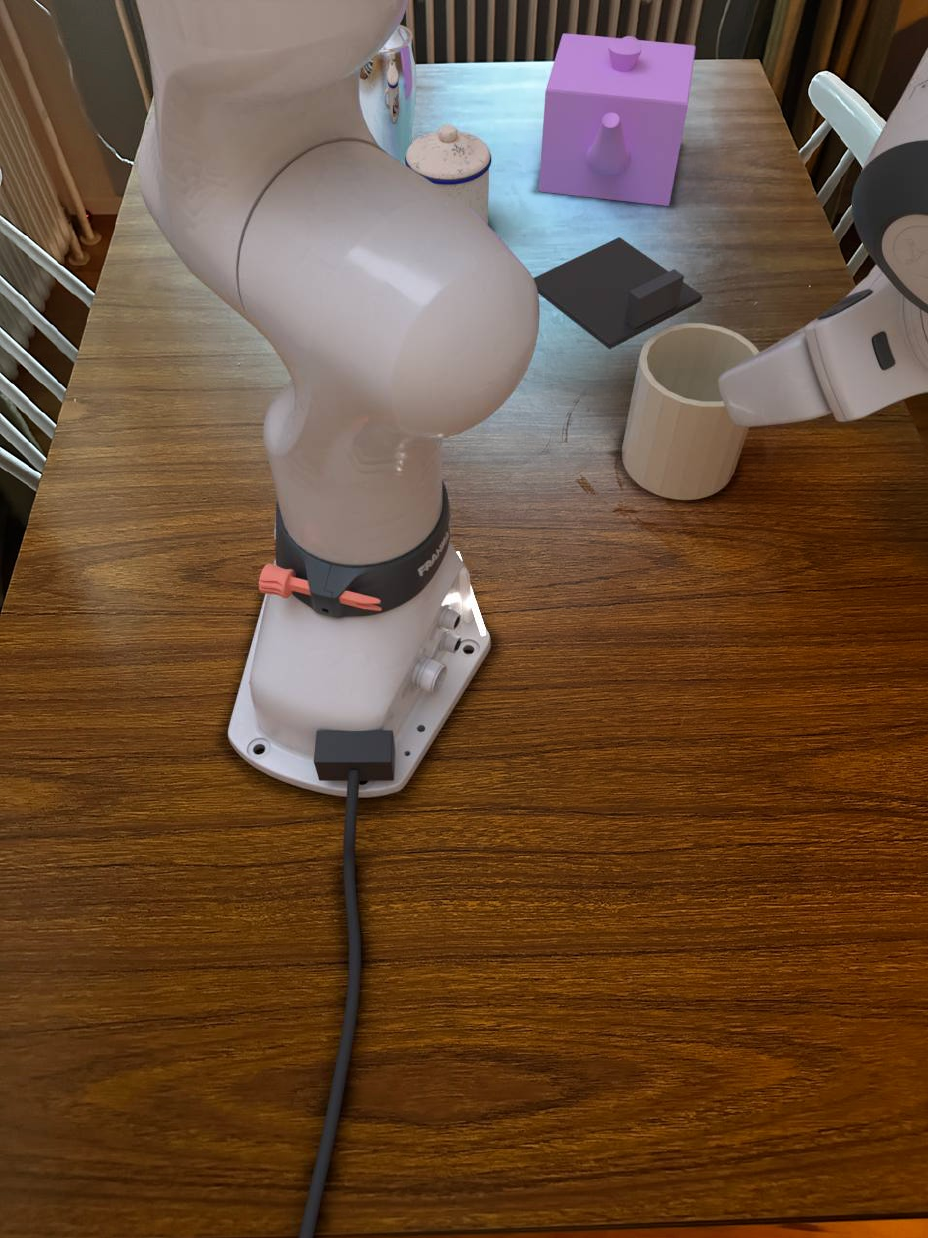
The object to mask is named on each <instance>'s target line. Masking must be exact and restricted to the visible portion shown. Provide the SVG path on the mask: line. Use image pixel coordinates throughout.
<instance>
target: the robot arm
mask: <svg viewBox="0 0 928 1238" xmlns="http://www.w3.org/2000/svg"><path fill="white" fill-rule="evenodd" d="M135 1H136V4H137V8H138V11H139V15H140V19H141V24H142V29H143V32H144V37H145V41H146V47H147V54H148V58H149V65H150V75H151V80H152V82H151V83H152V91H153V93H152V94H153V101H154V102H153V105H154V112H153V114H152V116H151V117H150V119H149V121H148V123H147V125H146V128H145V131H144V133H143V136H142V139H141V142H140V146H139V147H140V148H139V151H138V152H139V153H138V160H137V161H138V162H137V163H138V164H137V178H138V184H139V189H140V193H141V197H142V200H143V202H144V205H145V207H146V209H147V211H148V213H149V214H150V216H151V218H152V220H153V222H154V223H155V224H156V226H157V228H158V229H159V231H160V232H161V234H162V235H163V236H164V238H165V240H166V241H167V242H168V244H169V245H170V247H171V249H172V250H173V251H174V253H175V255H177V256H178V258H179V259H180V260H181V262H182V263H183V265H184V266H185V267H186V268H187V270H188V271H189V272H190V273H191V274H192V275H193V276H194V277H195V278H196V279H197V280H198V281H199V282H200V283H202V284H203V285H204V286H206V287H207V288H208V289H209V290H210V291H211V292H212V293H214V294H215V295H216V296H217V297H218V298H220V299H221V300H222V301H223V302H224V303H225V304H227V305H228V306H229V307H230V308H232V309H233V310H234V311H235V312H236V313H237V314H238V315H240V316H241V318H243V319H244V320H246V321H247V322H248V323H249V324H250V325H252V327H254V329H256V330H257V331H258V333H259V334H260V335H262V336H263V337H264V338H265V339H266V340H267V341H268V343H269V345H270V346H271V347H272V348H273V349H274V351H275V353H276V355H278V357H279V359H280V360H281V361H282V363H283V365H284V366H285V368H286V370H287V372H288V374H289V376H290V380H289V381H288V382H287V384H285V386H284V387H283V388H282V389H281V390H280V392H279V393H278V394H277V395H276V397H275V398H274V400H273V401H272V402H271V404H270V406H269V408H268V409H267V412H266V413H265V418H264V422H263V428H262V440H263V445H264V448H265V453H266V457H267V462H268V465H269V466H268V467H269V470H270V475H271V478H272V482H273V486H274V487H273V488H274V491H275V495H276V499H277V500H276V506H275V508H276V509H275V517H274V524H273V525H274V528H273V540H274V541H275V558H274V561H273V563H267V564H265V565H264V566H263V568H262V570H261V572H260V575H259V581H258V589H259V591H260V593H262V594H264V598H263V601H262V605H261V608H260V612H259V615H258V620H257V623H256V627H255V630H254V634H253V638H252V641H251V646H250V649H249V652H248V655H247V659H246V662H245V667H244V669H243V673H242V677H241V681H240V684H239V688H238V692H237V695H236V699H235V702H234V706H233V709H232V713H231V717H230V721H229V725H228V728H227V737H228V742H229V744H230V745H231V747H232V748H233V750H234V751H235V752H236V754H238V755H239V756H240V757H241V758H242V759H243V760H244V761H245V762H247V763H248V764H249V765H251V766H252V767H253V768H255V769H256V770H258V771H260V772H262V773H263V774H266V775H267V776H270V777H272V778H274V779H276V780H278V781H281V782H283V783H286V784H290V785H292V786H296V787H298V788H301V789H305V790H308V791H311V792H312V791H313V792H316V793H321V794H324V795H329V796H330V795H331V796H336V797H344V798H346V799H345V811H344V827H343V847H342V854H343V855H342V869H343V890H344V901H345V902H344V903H345V915H346V924H347V926H346V927H347V939H348V970H347V971H348V975H347V987H346V988H347V989H346V998H345V1008H344V1015H343V1022H342V1026H341V1027H342V1028H341V1034H340V1039H339V1045H338V1050H337V1054H336V1055H337V1056H336V1061H335V1066H334V1070H333V1077H332V1082H331V1086H330V1092H329V1097H328V1102H327V1107H326V1108H327V1109H326V1113H325V1118H324V1123H323V1128H322V1131H321V1132H322V1133H321V1137H320V1141H319V1146H318V1151H317V1155H316V1159H315V1164H314V1168H313V1172H312V1177H311V1180H310V1185H309V1190H308V1194H307V1198H306V1202H305V1207H304V1211H303V1215H302V1216H303V1217H302V1220H301V1226H300V1229H299V1235H298V1238H314V1235H315V1231H316V1227H317V1222H318V1221H317V1220H318V1217H319V1212H320V1208H321V1207H320V1206H321V1202H322V1198H323V1193H324V1189H325V1184H326V1180H327V1177H328V1176H327V1175H328V1171H329V1166H330V1163H331V1157H332V1153H333V1149H334V1145H335V1144H334V1143H335V1140H336V1134H337V1131H338V1124H339V1120H340V1115H341V1109H342V1105H343V1104H342V1103H343V1099H344V1093H345V1087H346V1082H347V1077H348V1072H349V1071H348V1070H349V1067H350V1059H351V1054H352V1049H353V1044H354V1037H355V1031H356V1025H357V1019H358V1018H357V1017H358V1012H359V1011H358V1010H359V1003H360V993H361V975H362V940H361V926H360V914H359V906H358V904H359V903H358V895H357V894H358V893H357V881H356V879H357V878H356V840H357V839H356V838H357V819H358V806H359V805H358V804H359V798H361V799H363V798H376V797H384V796H388V795H391V794H395V793H398V792H400V791H402V790H403V789H404V788H405V786H406V785H407V784H408V783H409V780H411V778H412V776H413V775H414V773H415V771H416V770H417V768H418V767H419V765H420V763H421V762H422V761H423V759H424V757H425V755H426V754H427V752H428V751H429V749H430V747H432V744H433V743H434V741H435V739H436V737H437V736H438V734H439V733H440V732H441V730H442V728H443V726H444V725H445V723H446V722H447V721H448V719H449V717H450V715H451V713H452V712H453V710H454V709H455V707H456V705H457V704H458V702H459V701H460V699H461V698H462V695H463V694H465V693H464V692H465V691H466V689H467V688H468V686H469V684H470V683H471V682H472V680H473V678H474V677H475V675H476V673H477V672H478V670H479V668H480V667H481V665H482V664H483V662H484V660H485V659H486V657H487V656H488V654H489V652H490V651H491V648H492V639H491V635H490V633H489V630H488V628H487V627H486V626H485V624H484V620H483V618H482V614H481V612H480V609H479V606H478V602H477V600H476V598H475V597H476V596H475V595H474V591H473V588H472V585H471V576H470V571H469V569H467V566H466V564H465V562H464V561H463V559H462V555H461V553H460V551H457V550H456V548H455V547H454V545H453V544H452V542H451V528H452V508H451V504H450V499H449V495H448V491H447V487H446V485H445V482H444V479H443V448H444V447H443V446H444V445H443V443H444V439H446V438H450V437H453V436H457V435H459V434H462V433H464V432H466V431H469V430H470V429H473V428H474V427H477V426H478V425H480V424H481V423H483V422H484V421H486V420H487V419H488V418H489V417H491V416H492V415H493V414H494V413H496V412H497V411H498V410H499V409H500V408H501V407H503V405H505V403H506V402H507V401H508V400H509V399H510V398H511V396H513V394H514V392H515V391H516V390H517V389H518V387H519V385H520V384H521V382H522V380H523V379H524V377H525V375H526V373H527V371H528V369H529V367H530V364H531V362H532V359H533V356H534V353H535V349H536V346H537V341H538V336H539V328H540V316H541V315H540V314H541V313H540V296H539V293H538V290H537V287H536V284H535V281H534V279H533V278H534V277H533V276H532V274H531V272H530V271H529V270H528V268H527V267H526V266H525V265H524V263H522V261H521V260H520V259H519V258H518V257H517V255H516V254H515V253H514V252H513V251H512V250H511V248H509V246H507V244H506V243H505V242H504V241H503V240H502V238H501V237H500V236H499V235H498V234H497V233H496V232H495V231H494V230H493V229H492V228H491V227H490V226H489V224H488V225H487V224H486V223H485V222H484V221H483V220H482V219H481V218H480V217H479V216H478V215H477V214H476V213H475V212H474V211H473V210H472V209H471V208H470V207H469V206H467V205H466V204H465V203H463V202H461V201H460V200H458V199H457V198H455V197H454V196H452V195H451V194H449V193H448V192H446V191H444V190H443V189H441V188H440V187H438V186H437V185H435V184H434V183H432V182H430V181H429V180H427V179H426V178H424V177H423V176H421V175H420V174H418V173H417V172H415V171H413V170H412V169H410V168H409V167H407V166H406V165H404V164H403V163H401V162H400V161H398V160H396V159H395V158H393V157H392V156H390V155H389V154H388V153H387V152H386V151H384V150H383V149H382V148H381V147H380V146H379V145H378V144H377V142H376V140H375V139H374V137H373V135H372V134H371V132H370V130H369V128H368V126H367V124H366V121H365V119H364V116H363V113H362V109H361V104H360V70H361V68H362V67H363V66H364V65H366V64H367V63H368V62H369V61H370V60H371V59H372V58H373V57H374V56H375V55H376V54H377V53H378V52H379V51H380V50H381V49H382V47H383V46H384V45H385V44H386V43H387V41H388V40H389V39H390V37H391V36H392V35H393V33H394V32H395V31H396V29H397V28H398V26H399V24H400V25H401V23H402V21H403V19H404V16H405V15H406V12H407V9H408V6H409V2H410V0H135ZM851 215H852V220H853V223H854V226H855V230H856V232H857V235H858V237H859V239H860V242H861V244H862V245H863V247H864V249H865V250H866V252H867V254H868V255H869V256H870V258H871V259H872V261H873V262H874V264H875V265H874V266H873V268H872V269H871V270H870V272H869V273H868V275H867V276H866V277H864V279H862V280H861V281H860V282H858V283H857V284H856V286H855V287H854V288H853V289H852V290H851V291H850V292H849V293H848V294H847V295H846V296H845V297H843V298H842V299H840V300H839V301H838V302H837V303H836V304H834V305H833V306H831V307H830V308H829V309H827V310H825V311H824V312H823V313H821V314H819V315H818V316H817V318H815V319H813V320H811V321H810V322H808V324H807V325H804V326H802V327H801V328H800V329H798V330H796V331H794V332H792V333H791V334H789V335H788V336H785V337H783V338H781V339H780V340H778V341H776V342H775V343H773V344H771V345H769V346H768V347H766V348H765V349H763V350H761V351H759V353H757V354H756V355H754V356H753V357H751V358H749V359H748V360H746V361H744V362H742V363H741V364H739V365H737V366H735V367H734V368H732V369H730V370H727V371H726V372H724V373H723V374H722V375H721V376H720V377H719V379H718V386H719V390H720V394H721V397H722V400H723V402H724V405H725V407H726V410H727V412H728V414H729V416H730V418H731V419H732V421H733V422H734V423H735V424H736V425H738V426H742V427H749V428H753V427H754V428H755V427H765V426H766V427H767V426H777V425H784V424H792V423H800V422H805V421H810V420H815V419H819V418H821V417H825V416H827V415H830V414H832V415H833V417H834V419H835V421H836V422H838V423H846V422H853V421H858V420H861V419H863V418H865V417H868V416H870V415H873V414H875V413H878V412H880V411H882V410H884V409H886V408H889V407H891V406H893V405H895V404H898V403H899V402H903V401H904V400H907V399H908V398H911V397H915V396H917V395H921V394H926V393H927V394H928V47H927V48H926V50H925V52H924V54H923V55H922V57H921V59H920V62H919V63H918V65H917V67H916V68H915V71H914V72H913V74H912V77H911V78H910V80H909V82H908V83H907V86H905V89H904V91H903V93H902V95H901V97H900V99H899V100H898V102H897V104H896V106H895V107H894V108H893V110H892V111H891V113H890V114H889V117H888V118H887V120H886V122H885V124H884V126H883V128H882V130H881V132H880V133H879V136H878V138H877V139H876V141H875V143H874V145H873V147H872V149H871V151H870V154H869V155H868V157H867V159H866V161H865V163H864V165H863V167H862V169H861V171H860V174H859V175H858V177H857V179H856V181H855V184H854V186H853V189H852V195H851ZM466 651H471V652H472V653H466ZM260 749H261V750H264V751H263V753H260V754H257V753H256V752H257V751H258V750H260ZM361 781H362V782H366V781H367V782H366V783H364V784H360V782H361Z"/></svg>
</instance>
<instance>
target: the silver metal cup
mask: <svg viewBox="0 0 928 1238" xmlns="http://www.w3.org/2000/svg"><path fill="white" fill-rule="evenodd" d="M417 89H418V87H417V65H416V55H415V45H414V34H413V32H412V30H410V28H408V27H406V26H405V25H402V24H401V23H400V24H399V26H398V28H397V29H396V31H395V32H394V33H393V35H392V36H391V37H390V39H389V40H388V41H387V43H386V44H385V45H384V46H383V47H382V49H381V50H380V51H379V52H378V53H377V54H376V55H375V56H374V57H373V58H372V59H371V60H370V61H369V62H368V63H367V64H366V65H364V66H363V67H362V68H361V70H360V104H361V109H362V113H363V116H364V119H365V121H366V124H367V126H368V128H369V130H370V132H371V134H372V135H373V137H374V139H375V140H376V142H377V144H378V145H379V146H380V147H381V148H382V149H383V150H384V151H386V152H387V153H388V154H389V155H390V156H392V157H393V158H395V159H396V160H398V161H400V162H401V163H403V164H404V165H406V164H405V156H406V152H407V150H408V148H409V146H410V145H411V144H412V143H413V141H412V140H413V136H412V135H413V124H414V118H415V110H416V102H417Z"/></svg>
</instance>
